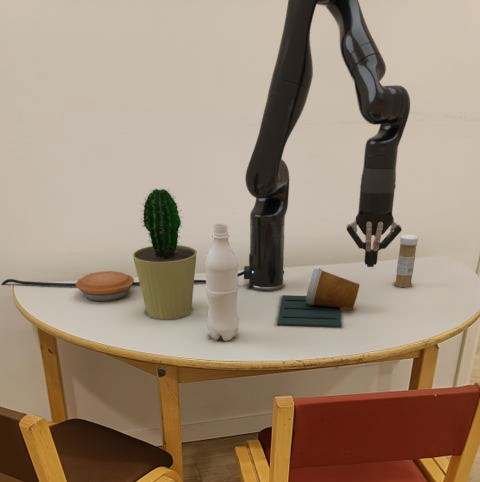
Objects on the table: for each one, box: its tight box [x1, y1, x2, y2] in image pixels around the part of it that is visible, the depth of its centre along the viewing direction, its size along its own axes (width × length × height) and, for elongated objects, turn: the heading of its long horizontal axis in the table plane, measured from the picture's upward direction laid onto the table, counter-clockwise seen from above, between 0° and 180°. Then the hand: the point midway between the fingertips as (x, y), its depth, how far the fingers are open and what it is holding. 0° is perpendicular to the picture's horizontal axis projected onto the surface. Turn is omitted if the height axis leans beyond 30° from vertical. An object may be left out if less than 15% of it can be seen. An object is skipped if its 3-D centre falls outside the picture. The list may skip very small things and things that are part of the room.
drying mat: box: [277, 294, 342, 329], centre depth 151 cm, size 15×20×1 cm
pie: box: [74, 270, 135, 302], centre depth 162 cm, size 15×16×5 cm
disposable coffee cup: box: [305, 267, 361, 310], centre depth 150 cm, size 10×10×12 cm
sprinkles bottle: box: [394, 234, 419, 288], centre depth 164 cm, size 5×5×13 cm
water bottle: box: [204, 223, 240, 342], centre depth 131 cm, size 7×7×25 cm
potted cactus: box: [132, 188, 198, 320], centre depth 144 cm, size 15×15×30 cm
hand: (370, 266), depth 142 cm, fingers closed
